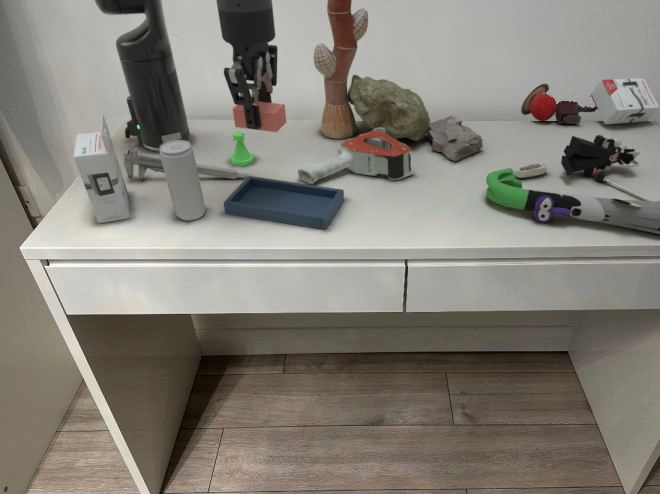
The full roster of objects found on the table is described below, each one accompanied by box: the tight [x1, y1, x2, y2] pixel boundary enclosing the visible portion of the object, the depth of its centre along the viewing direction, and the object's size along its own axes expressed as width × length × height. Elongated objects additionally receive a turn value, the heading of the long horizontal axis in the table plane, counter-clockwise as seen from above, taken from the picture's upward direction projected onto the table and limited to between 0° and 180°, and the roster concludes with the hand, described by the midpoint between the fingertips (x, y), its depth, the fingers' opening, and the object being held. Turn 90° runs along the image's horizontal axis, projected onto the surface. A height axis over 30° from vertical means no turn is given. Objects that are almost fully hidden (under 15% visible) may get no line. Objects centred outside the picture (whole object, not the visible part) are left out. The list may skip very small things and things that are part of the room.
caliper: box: [123, 145, 245, 182], centre depth 98 cm, size 20×1×6 cm, turn 94°
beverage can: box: [159, 140, 207, 222], centre depth 87 cm, size 5×5×12 cm
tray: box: [222, 175, 345, 230], centre depth 93 cm, size 18×10×2 cm, turn 75°
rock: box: [347, 74, 431, 141], centre depth 114 cm, size 15×19×15 cm
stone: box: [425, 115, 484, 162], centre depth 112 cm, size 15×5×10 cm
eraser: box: [232, 101, 287, 133], centre depth 87 cm, size 4×7×3 cm, turn 76°
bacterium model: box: [513, 163, 551, 179], centre depth 102 cm, size 12×2×5 cm
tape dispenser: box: [297, 127, 414, 185], centre depth 103 cm, size 18×5×20 cm
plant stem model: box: [313, 0, 369, 140], centre depth 107 cm, size 10×7×30 cm
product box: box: [73, 112, 131, 224], centre depth 87 cm, size 9×5×15 cm, turn 21°
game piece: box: [230, 131, 255, 167], centre depth 104 cm, size 4×4×6 cm
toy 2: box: [560, 134, 655, 201], centre depth 97 cm, size 8×20×15 cm
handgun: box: [554, 101, 598, 125], centre depth 127 cm, size 24×3×15 cm
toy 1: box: [485, 167, 660, 235], centre depth 92 cm, size 6×11×30 cm
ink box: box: [590, 77, 660, 125], centre depth 122 cm, size 8×5×12 cm
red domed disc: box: [520, 82, 557, 122], centre depth 122 cm, size 8×8×6 cm
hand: (260, 122), depth 87 cm, fingers closed on eraser, 4 cm apart
